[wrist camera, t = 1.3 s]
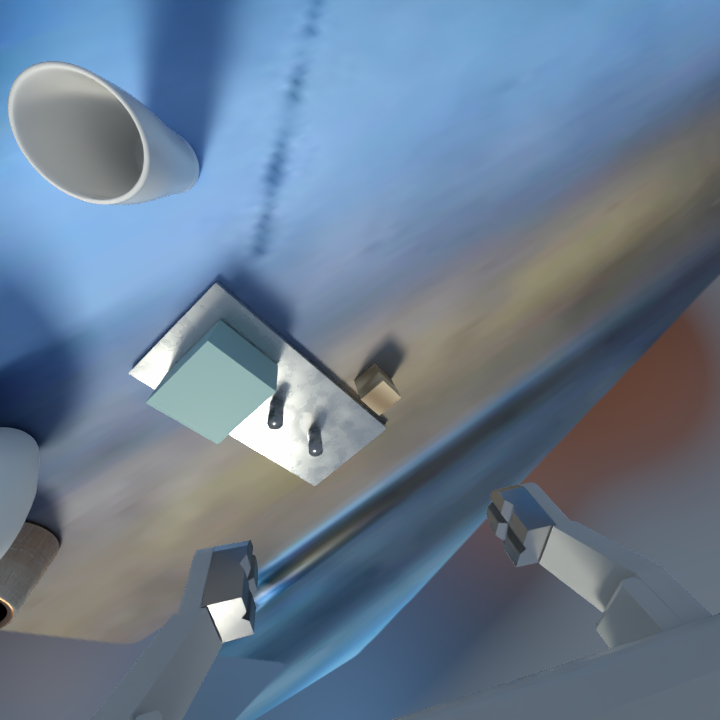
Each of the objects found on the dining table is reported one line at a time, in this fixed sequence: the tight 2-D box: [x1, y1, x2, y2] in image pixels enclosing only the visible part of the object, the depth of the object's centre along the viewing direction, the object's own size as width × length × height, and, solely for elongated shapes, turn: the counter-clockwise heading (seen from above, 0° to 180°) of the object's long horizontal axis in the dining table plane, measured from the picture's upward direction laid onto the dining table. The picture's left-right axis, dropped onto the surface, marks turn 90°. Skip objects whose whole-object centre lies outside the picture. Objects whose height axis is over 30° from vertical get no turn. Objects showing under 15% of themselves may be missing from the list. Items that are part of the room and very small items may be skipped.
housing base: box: [129, 281, 387, 486], centre depth 43 cm, size 16×32×5 cm, turn 41°
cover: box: [146, 320, 278, 444], centre depth 37 cm, size 10×9×6 cm
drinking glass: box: [8, 61, 199, 205], centre depth 24 cm, size 7×7×15 cm
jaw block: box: [354, 363, 401, 415], centre depth 44 cm, size 4×4×5 cm
